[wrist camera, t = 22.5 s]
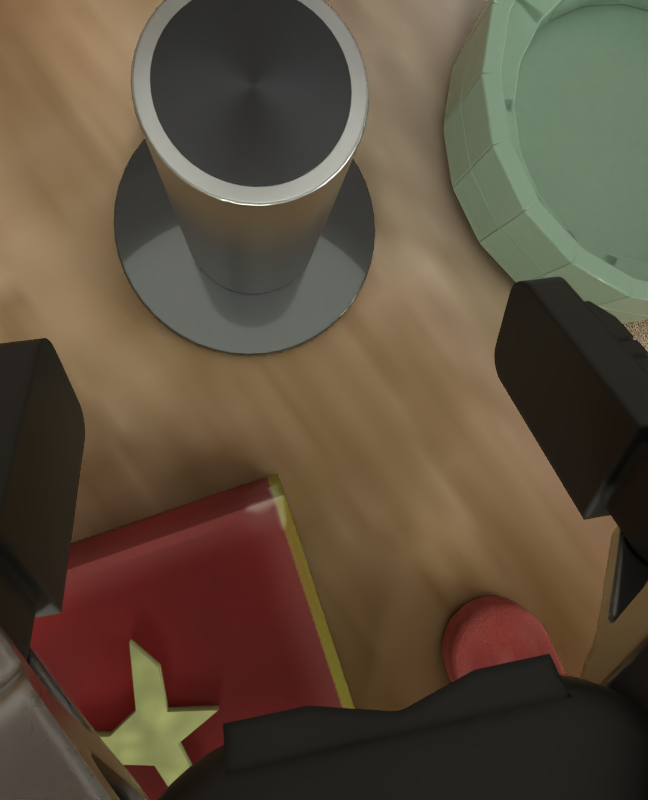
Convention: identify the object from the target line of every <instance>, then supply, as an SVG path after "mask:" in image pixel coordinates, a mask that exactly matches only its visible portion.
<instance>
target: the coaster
mask: <svg viewBox="0 0 648 800" xmlns="http://www.w3.org/2000/svg"><path fill="white" fill-rule="evenodd" d="M114 233H115V241H116V246H117V251H118V256H119V259H120V262H121V264H122V267H123V270H124V273H125V275H126V277H127V279H128V281H129V283H130V285H131V287H132V289H133V290H134V291H135V293H136V294H137V296H138V297H139V299H140V300H141V302H142V303H143V304H144V305H145V306H146V308H147V309H148V310H149V311H150V312H151V313H152V314H153V315H154V316H155V317H156V318H157V319H158V320H159V321H160V322H161V323H163V324H164V325H165V326H166V327H167V328H168V329H170V330H171V331H173V332H174V333H176V334H177V335H179V336H180V337H182V338H183V339H185V340H187V341H189V342H191V343H193V344H195V345H197V346H199V347H202V348H205V349H208V350H211V351H214V352H218V353H223V354H228V355H235V356H265V355H270V354H276V353H281V352H284V351H287V350H290V349H293V348H296V347H299V346H301V345H303V344H305V343H307V342H309V341H311V340H313V339H314V338H316V337H317V336H319V335H320V334H322V333H323V332H325V331H326V330H327V329H328V328H329V327H330V326H332V325H333V324H334V323H335V322H336V321H337V320H338V319H339V318H340V317H341V316H342V315H343V314H344V313H345V311H346V310H347V309H348V308H349V307H350V305H351V304H352V302H353V301H354V299H355V298H356V296H357V295H358V293H359V291H360V289H361V287H362V285H363V283H364V281H365V279H366V276H367V273H368V270H369V267H370V264H371V260H372V255H373V249H374V238H375V225H374V213H373V208H372V203H371V198H370V195H369V192H368V189H367V186H366V183H365V181H364V178H363V176H362V174H361V172H360V170H359V168H358V166H357V165H356V163H355V161H354V160H353V159H352V162H351V164H350V166H349V169H348V171H347V173H346V176H345V178H344V181H343V183H342V185H341V188H340V190H339V192H338V195H337V197H336V199H335V202H334V204H333V207H332V209H331V211H330V214H329V216H328V218H327V221H326V223H325V226H324V228H323V230H322V233H321V235H320V237H319V240H318V242H317V244H316V247H315V249H314V252H313V254H312V256H311V258H310V260H309V262H308V264H307V265H306V267H305V268H304V270H303V271H302V272H301V273H300V274H299V276H297V277H296V278H295V279H294V280H293V281H292V282H290V283H289V284H287V285H285V286H284V287H281V288H279V289H277V290H274V291H271V292H267V293H261V294H246V293H240V292H235V291H233V290H230V289H227V288H225V287H223V286H221V285H219V284H218V283H216V282H215V281H213V280H212V279H211V278H209V277H208V276H207V275H206V274H205V273H204V272H203V271H202V270H201V268H200V267H199V266H198V264H197V263H196V261H195V260H194V258H193V256H192V254H191V252H190V249H189V247H188V244H187V242H186V239H185V237H184V234H183V232H182V230H181V227H180V225H179V222H178V220H177V217H176V215H175V212H174V210H173V207H172V205H171V202H170V200H169V197H168V195H167V192H166V190H165V187H164V185H163V182H162V180H161V177H160V175H159V172H158V170H157V167H156V165H155V162H154V160H153V157H152V155H151V153H150V150H149V148H148V145H147V143H146V140H145V139H144V140H143V141H142V142H141V144H140V145H139V147H138V148H137V149H136V151H135V152H134V154H133V155H132V157H131V159H130V160H129V162H128V164H127V166H126V168H125V170H124V173H123V175H122V178H121V181H120V184H119V187H118V191H117V196H116V201H115V209H114Z"/></svg>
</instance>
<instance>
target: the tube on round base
mask: <svg viewBox="0 0 648 800" xmlns="http://www.w3.org/2000/svg"><path fill="white" fill-rule="evenodd" d="M131 91H132V100H133V104H134V109H135V113H136V116H137V119H138V122H139V125H140V128H141V130H142V133H143V135H144V138H145V140H146V143H147V145H148V148H149V150H150V153H151V155H152V157H153V160H154V162H155V165H156V167H157V170H158V172H159V175H160V177H161V180H162V182H163V185H164V187H165V190H166V192H167V195H168V197H169V200H170V202H171V205H172V207H173V210H174V212H175V215H176V217H177V220H178V222H179V225H180V227H181V230H182V232H183V234H184V237H185V239H186V242H187V244H188V247H189V249H190V252H191V254H192V256H193V258H194V260H195V261H196V263H197V264H198V266H199V267H200V268H201V270H202V271H203V272H204V273H205V274H206V275H207V276H208V277H209V278H211V279H212V280H213V281H215V282H216V283H218V284H219V285H221V286H223V287H225V288H227V289H230V290H233V291H235V292H240V293H246V294H261V293H267V292H271V291H274V290H277V289H279V288H281V287H284V286H285V285H287V284H289V283H290V282H292V281H293V280H294V279H295V278H296V277H297V276H299V274H300V273H301V272H302V271H303V270H304V268H305V267H306V265H307V264H308V262H309V260H310V258H311V256H312V254H313V252H314V249H315V247H316V244H317V242H318V240H319V237H320V235H321V233H322V230H323V228H324V226H325V223H326V221H327V218H328V216H329V214H330V211H331V209H332V207H333V204H334V202H335V199H336V197H337V195H338V192H339V190H340V188H341V185H342V183H343V181H344V178H345V176H346V173H347V171H348V169H349V166H350V164H351V162H352V159H353V157H354V155H355V152H356V150H357V147H358V145H359V143H360V140H361V138H362V134H363V131H364V128H365V125H366V120H367V115H368V105H369V89H368V79H367V74H366V69H365V65H364V62H363V59H362V56H361V53H360V50H359V48H358V46H357V44H356V42H355V40H354V38H353V36H352V34H351V32H350V31H349V29H348V28H347V26H346V25H345V23H344V22H343V21H342V19H341V18H340V17H339V16H338V14H337V13H336V12H335V11H334V10H333V9H332V8H331V7H330V6H329V5H328V4H327V3H326V2H325V1H324V0H164V1H163V2H162V3H161V4H160V5H159V6H158V7H157V8H156V10H155V11H154V12H153V14H152V15H151V17H150V18H149V19H148V21H147V23H146V25H145V27H144V29H143V30H142V32H141V34H140V37H139V40H138V42H137V45H136V48H135V52H134V57H133V62H132V69H131Z"/></svg>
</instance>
